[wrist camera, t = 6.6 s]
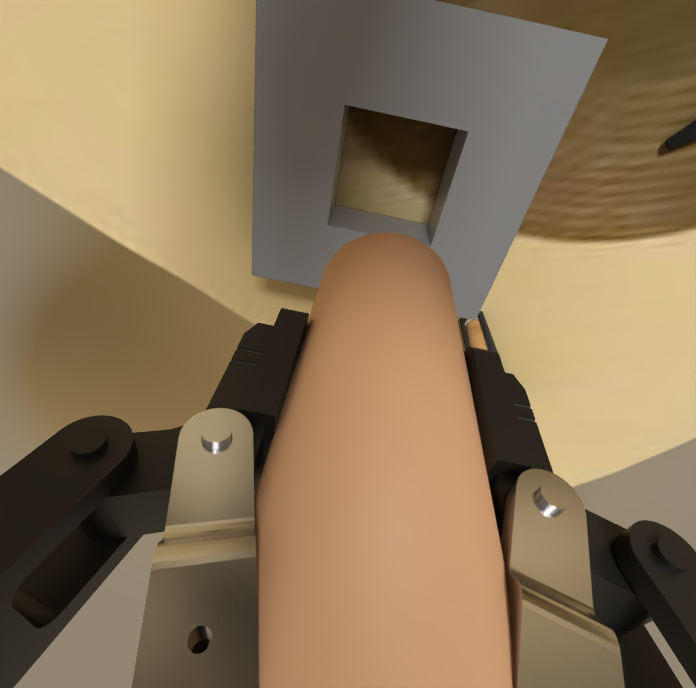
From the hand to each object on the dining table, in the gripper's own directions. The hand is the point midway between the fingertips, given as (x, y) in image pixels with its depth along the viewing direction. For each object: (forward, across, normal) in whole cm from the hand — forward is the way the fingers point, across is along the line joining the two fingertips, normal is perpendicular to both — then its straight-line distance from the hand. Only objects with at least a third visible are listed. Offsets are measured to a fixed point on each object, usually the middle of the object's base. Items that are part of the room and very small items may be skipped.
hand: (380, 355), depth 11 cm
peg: (+3, 0, 0) cm, 3 cm away
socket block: (+19, 0, 0) cm, 19 cm away
